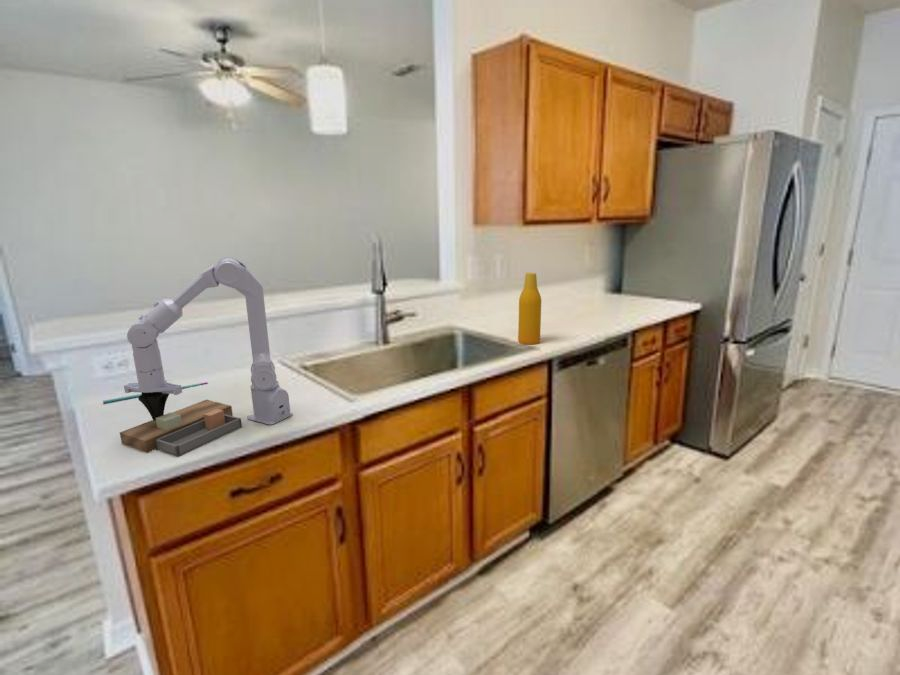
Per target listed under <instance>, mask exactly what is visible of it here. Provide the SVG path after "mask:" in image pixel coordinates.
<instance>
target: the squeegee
mask: <svg viewBox="0 0 900 675" xmlns="http://www.w3.org/2000/svg"><path fill="white" fill-rule="evenodd" d="M208 384H209V383H208V382H207V381H206V382H200V383H195V384H189V385H184V386H181V387H182V390H183V389H188V388H193V387H198V386H203V385H208ZM141 394H142V393H139V394H133V395H128V396H121V397H117V398H110V399H105V400H103V401H102V403H103V405H107V404H112V403H113V404H114V403H116V402H117V403H118V402H121V401H125V400H131V399H136V398H138V397H139V396H141Z"/></svg>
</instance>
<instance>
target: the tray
mask: <svg viewBox="0 0 900 675" xmlns="http://www.w3.org/2000/svg"><path fill="white" fill-rule="evenodd" d="M224 418H225V424H224V425H222V426H220V427H218V428H215V429H213V430H209V429H206V426H205V420H201V421H199V422H197V423H194V424H192V425H189V426H187V427H185V428H182V429H180V430H177V431H175V432H173V433H170V434H168V435H165V436H163V437H161V438H158V439H156V440H155V444H156V449H155V450H157V451H159V452H163V453H166V454H168V455H172V456H175V457H177V458H179V457H180V456H183V455H185V454H186V453H189V452H191V451H194V450H196V449H198V448H200V447H202V446H205V445H206V444H208V443H212V442H213V441H215V440H217V439H219V438H221V437H224V436H227V435H228V434H230V433H233V432H235V431H236V430H238V429H241V428H242V427H243V423H242V418H241V417H238V416H230V415H226V414H224Z"/></svg>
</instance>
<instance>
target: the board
mask: <svg viewBox="0 0 900 675" xmlns="http://www.w3.org/2000/svg"><path fill="white" fill-rule="evenodd" d="M215 409H220V410H223V411H224V414H226V415H230V416H233V415H234V414H233V408H232V405H230V404H227V403H222V402H219V401H218V402H217V401H214V400H209V399H205V400H201V401H198V402H196V403H193V404H191V405H189V406H186V407H183V408H180V409H178V410H176V411H172V412H171V413H175V414H178V415H181V420H182V425H179V426H177V427H174V428H172V429H169V430H164V429H161V428H158V427H157V424H156V421H153V419H151V420H149V421H147V422H144V423H143V422H142V423H141V424H139V425H136V426H133V427H131V428H128V429H125V430H123V431H120V432H119V436H120V442H121V444H122V445H124V446H127V447H130V448H133V449H136V450H138V451H142V452H143V453H147V454H148V453H150V452H153V451H154V450H157V449H156V444H155V440H156V439H158V438H161V437H163V436H165V435H168V434H170V433H173V432H175V431H177V430H180V429H182V428H185V427H187V426H189V425H192V424H194V423H197V422H199V421H201V420H204V414H206V413H208V412H211V411H213V410H215ZM152 450H153V451H152Z"/></svg>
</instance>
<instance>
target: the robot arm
mask: <svg viewBox="0 0 900 675" xmlns="http://www.w3.org/2000/svg"><path fill="white" fill-rule="evenodd" d="M219 285H223V286H226V287H228V288H232V289H234V290H235V291H237V292H239V293H240V294H242V295H243V296H244V298H245V304H246V305H245V306H246V314H247V320H248V321H247V322H248V328H249V329H248V330H249V332H248V333H249V337H250V338H249V340H250V347H251V355H252V364H251V365H250V374H251V377H250V382H251V385H250V393H251V402H252V409H253V414H251V415H249V416H247V417H246V418H247V420H250V421H254V422H259V423H261V424H266V425H270V426H273V425H274V424H277V423H278V422H281V421H283V420H285V419H286V418H289V417H291V416H293V414H294V413H293V412H291V406H290V405H291V404H290V399H289V398H290V397H289V393H288V392H287V390H286V389H284V388H282V387H281V385H280V382H279V381H278V380H277V374H276V367H275V364H274V362H273V361H272V359H271V351H270V344H269V343H270V342H269V335H268V332H269V331H268V325H267V324H268V323H267V315H266V306H265V304H266V303H265V298H264V288H263V285H262V283H261V282H260V281H259V279H257V277H256V276H255V275H254V274H253V273H252V271H251V270H250V269H249V268H248V267H247V266H246V264H244V263H243V262H241V261H239V260H238V259H236V258H234V257H230V256H229V257H227V256H226V257H223V258H221V259H220V260H218V262H217V264H215V263H214V264H213V265H211V266H210V267H208V268H206V269H205V270H204V271H202V272H201V273H199V274H198V275H197V276H196V277H195V278H194V279H193V280H192V281H190V282H189V283H188V285H186V286H185V287H184V288H182V290H181V291H180V292H179V293H177V294H176V295H175V296H174V297H173V298H163V299H161V300H156V302H154V304H153V306H154V307H152V308H151V309H150V310H149V311H148V312H146V313H145V314H144V315H140V316H139V317H138V321H137V322H135V323H134V324H132V325H131V327H130V328H129V329H128V331H127V334H126V337H127V340H128V342H129V343H130V345H131V348H132V356H133V362H134V367H135V372H136V377H137V378H136V379H137V382H133V383H131V382H130V383H127V384H125V385H123V390H124V394H125V393H126V394H129V393H130V394H131V393H140V394H141V396H139V397H137V400H138V401H139V402H140V403H141V404H142V405H143V406H144V407H145V408H146V410H147V411H148V413H149V415H150V417H151V420H153V421H156V418H157V417H160V416H162V415H165V407H166V404H167V401H168V397H169V395H174V396H178V395H180V394H181V393H183V389H182V387H183V386H182V385H181V384H174V383H169V382H167V380H165V375H164V368H163V362H162V357H161V350H160V348H159V344H158V339H157V338H158V336H159V335H161V334H163V333H165V332H166V330H168V329H169V328H170V327H171V326H173V325H174V324H175V323H176V322H177V321H178V320H179V319H180V318H182V317H183V308H184V307H186V306H187V305H188V304H189V303H190V302H191V301H193V300H195V298H197V297H198V296H199V295H200V294H201V293H203V292H204V291H205V290H206V289H209V288H217V287H219Z"/></svg>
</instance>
